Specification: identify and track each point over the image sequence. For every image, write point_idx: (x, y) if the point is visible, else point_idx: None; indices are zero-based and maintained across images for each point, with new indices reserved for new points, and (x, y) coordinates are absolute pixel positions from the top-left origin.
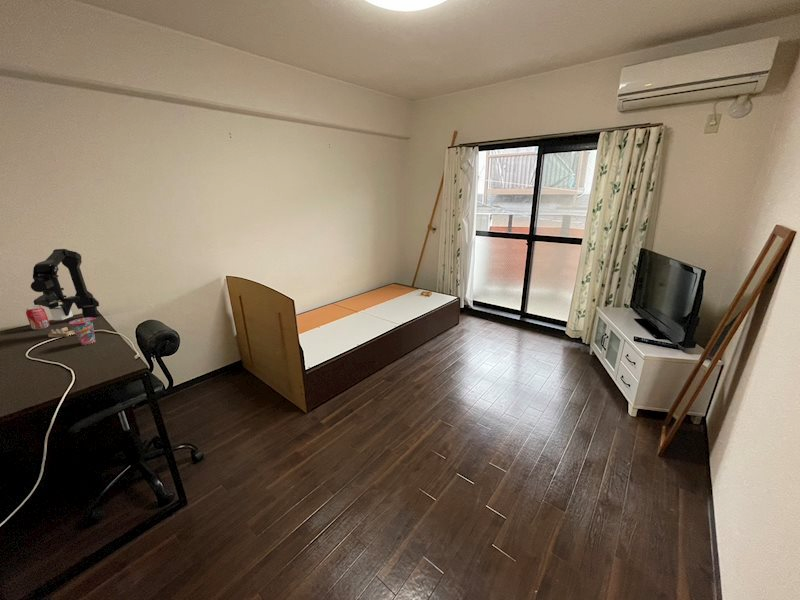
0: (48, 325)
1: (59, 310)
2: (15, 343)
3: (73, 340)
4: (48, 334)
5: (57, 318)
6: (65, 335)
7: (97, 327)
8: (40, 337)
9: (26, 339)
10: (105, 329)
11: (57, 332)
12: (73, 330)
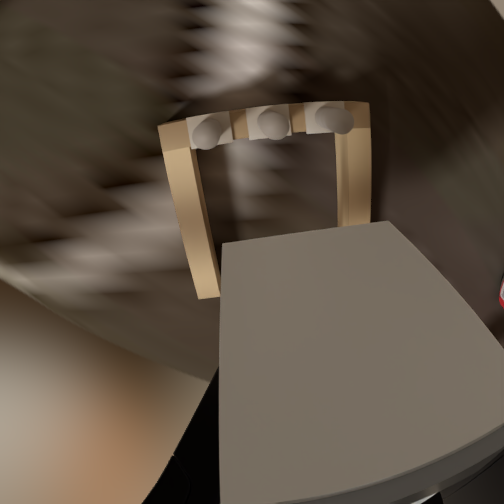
0: (500, 295)
1: (227, 452)
2: (470, 10)
3: (19, 76)
4: (359, 102)
5: (315, 249)
6: (176, 120)
7: (142, 325)
8: (421, 103)
9: (477, 77)
10: (40, 294)
11: (260, 113)
12: (176, 210)
